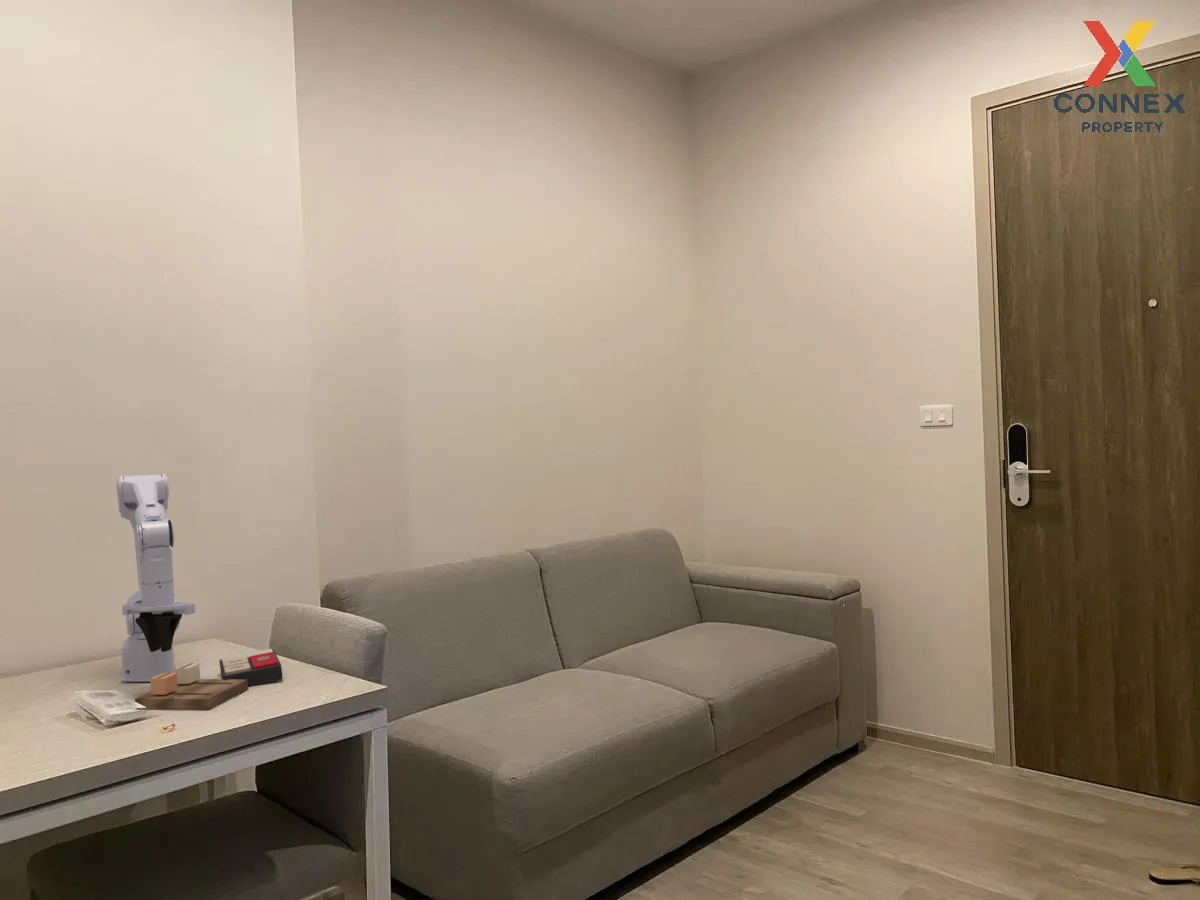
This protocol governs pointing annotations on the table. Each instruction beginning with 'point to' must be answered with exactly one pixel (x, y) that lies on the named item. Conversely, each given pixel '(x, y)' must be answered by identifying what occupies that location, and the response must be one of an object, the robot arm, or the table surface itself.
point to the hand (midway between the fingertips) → (160, 650)
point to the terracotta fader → (164, 683)
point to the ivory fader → (187, 673)
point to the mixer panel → (195, 695)
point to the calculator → (252, 667)
